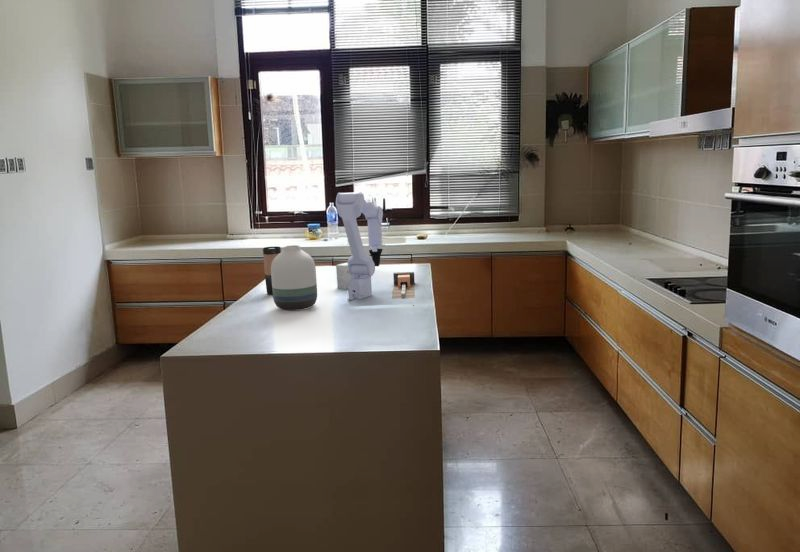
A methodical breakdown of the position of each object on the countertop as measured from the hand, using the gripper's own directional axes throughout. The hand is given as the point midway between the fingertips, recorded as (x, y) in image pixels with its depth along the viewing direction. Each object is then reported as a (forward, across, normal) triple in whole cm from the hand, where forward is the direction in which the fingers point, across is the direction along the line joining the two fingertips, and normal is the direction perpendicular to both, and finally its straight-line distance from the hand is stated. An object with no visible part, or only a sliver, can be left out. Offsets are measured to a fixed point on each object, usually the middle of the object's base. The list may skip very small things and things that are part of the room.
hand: (376, 266), depth 274 cm
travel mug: (+11, +2, +45) cm, 46 cm away
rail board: (+10, -8, -11) cm, 17 cm away
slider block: (+9, 0, -11) cm, 15 cm away
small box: (+11, +10, +14) cm, 20 cm away
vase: (+11, -29, +30) cm, 43 cm away
